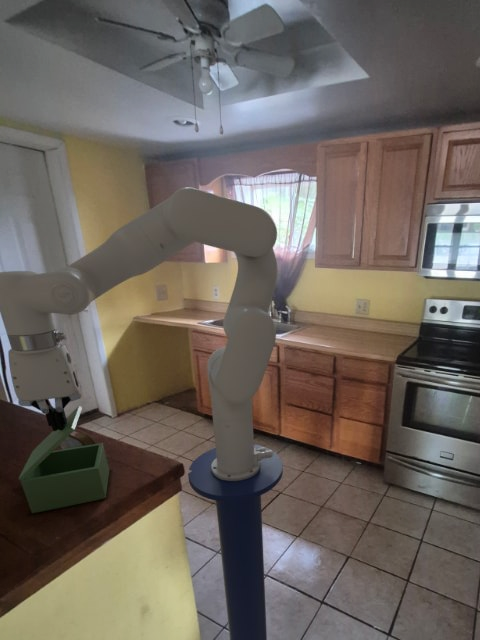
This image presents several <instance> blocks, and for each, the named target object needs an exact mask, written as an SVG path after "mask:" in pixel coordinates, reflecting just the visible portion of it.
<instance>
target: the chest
mask: <svg viewBox="0 0 480 640" xmlns="http://www.w3.org/2000/svg"><path fill="white" fill-rule="evenodd" d="M109 477H110V466H109V462H108V459H107V454H106V449H105V446H104V443H103V442H100V443H96V444H93V445H87V446H81V447H74V448H68V449H57V450H56V449H55V450H53V451H52V452H51V453H50V454H49V455H48V456H47V457H46V458H45V459H44V460H43V461H42V462H41V463H40V464H39V465H38V466H37V467H36V468H35V469H34V470H33V471H32V472H31V473H30V474H29V475H28V476H27V477H26V478H25V479H24V480H23V481H21V480H20V483H21V486H22V490H23V492H24V495H25V497H26V501H27V503H28V506H29V510H30V513H31V514H36V513H40V512H46V511H51V510H56V509H60V508H65V507H71V506H76V505H80V504H84V503H85V504H86V503H89V502H94V501H100V500H104V499H106V497H107V490H108V484H109Z"/></svg>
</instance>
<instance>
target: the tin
mask: <svg viewBox="0 0 480 640" xmlns="http://www.w3.org/2000/svg"><path fill="white" fill-rule="evenodd" d="M93 444H97V442H96V441H95V439H94V438H93V437H92V436H91V435H90V434H89V433H87V432H85V431H82V430H80V429H78V428H76V427H75V430H74V431H73V432H72V433H71V434H70V435H69V436H68V437H67V438H66V439H65V440H64V441H63V442H62V443H61V444H60V445H59V446H58V447H60V450H62V449H68V448H74V447H81V446H87V445H93Z"/></svg>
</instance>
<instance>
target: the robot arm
mask: <svg viewBox="0 0 480 640" xmlns="http://www.w3.org/2000/svg"><path fill="white" fill-rule="evenodd" d="M277 239H278V228H277V224H276V222H275V219H274V218H273V217H272V215H271V214H270V213H269V212H268V211H266V210H265V209H264V208H261V207H259V206H256V205H254V204H253V205H252V204H249V203H246V202H242V201H239V200H236V199H232V198H229V197H225V196H222V195H220V194H215V193H213V192H209V191H206V190H202V189H199V188H195V187H182V188H181V187H180V188H179V189H177V190H176V191H174V192H173V193H171V195H170V197H168V198H167V199H165V200H163V201H162V202H160V203H158V204H157V205H155V206H154V207H151V208H150V209H149V210H147V211H145V212H144V213H142V214H140V215H139V216H137V217H135V218H134V219H132V220H130V221H129V222H127V223H125V224H124V225H122V226H120V227H118V228H117V229H116V230H115V231H114V232H113V233H111V235H110V236H109V237H108V238H107V239H106V240H105V241H103V243H102V244H100V245H99V246H98V247H96V248H94V249H93V250H92V251H90V252H88V253H87V254H85V255H84V256H82V257H80V258H79V259H77V260H75V261H73V262H72V263H70V264H69V265H67V266H65V267H64V268H61V269H57V270H55V271H49V272H42V273H37V272H35V271H31V270H11V271H0V317H1V320H2V322H3V325H4V329H5V332H6V336H7V340H8V343H9V345H10V349H9V350H8V353H7V354H8V355H7V357H8V366H9V372H10V379H11V383H12V387H13V390H14V394H15V396H16V398H17V399H18V405H19V406H20V407H33V408H35V409H36V410H39V411H41V413H42V414H44V415H45V418H46V421H47V425H48V427H51V429H52V432H53V431H57V430H63V428H64V425H65V424H67V419H66V418H67V416H66V412H65V408H66V407H67V406H68V404H69V403H71V402H75V401H77V400H80V399H81V398H82V395H83V394H82V392H81V390H80V389H79V386H80V384H79V383H80V382H79V378H78V375H77V372H76V369H75V366H74V362H73V360H72V358H71V355H70V353H69V351H68V348H67V347H66V345H65V344H64V343H61V342H62V341H66V340H67V338H68V337H67V334H66V332H60V331H58V329H57V328H56V325H55V321H54V318H53V317H54V316H53V314H60V315H75V314H78V313H81V312H82V311H85V310H86V309H87V308H88V306H89V305H90V304H91V303H93V301H95V300H96V299H98V298H99V297H101V296H102V295H104V294H106V293H107V292H109V291H110V290H112V289H114V288H115V287H116V286H119V285H120V284H122V283H124V282H125V281H127V280H129V279H132V278H134V277H137V276H141V275H144V274H146V273H148V272H150V271H152V270H154V269H155V268H156V267H158V266H160V265H161V264H163V263H164V262H165V261H167V260H169V259H170V258H172V257H174V256H175V255H177V254H179V253H180V252H182V251H184V250H185V249H186V248H188V247H190V246H191V245H192V244H194V243H197V244H198V243H199V244H201V245H205V246H209V247H212V248H216V249H220V250H224V251H228V252H231V253H232V252H233V253H234V255H235V258H236V261H237V273H236V279H235V283H234V286H233V290H232V293H231V296H230V299H229V302H228V306H227V308H226V312H225V314H224V317H223V322H222V327H223V331H224V334H225V335H226V337H227V341H226V345H225V346H221V347H219V348H217V349H215V350H214V351H212V353H211V354H210V356H209V357H208V360H207V364H206V375H207V383H208V386H209V395H210V404H211V415H212V424H213V435H214V446H215V448H216V457H217V458H216V459H215V460H214V461H213V462H212V465H211V470H212V473H213V475H214V476H215V477H217V478H219V479H222V480H225V481H240V480H245V479H248V478H250V477H252V476H254V475H255V474H256V473H257V472H258V471H259V470H260V468H261V459H264V458H271V457H273V453H272V451H273V450H272V449H270V450H268V451H265V448H264V447H265V446H263V448H259V449H256V448H254V445H255V441H254V440H255V439H254V421H253V419H254V418H253V399H252V398H253V397H254V396H255V395H256V394H257V392H258V391H259V390H260V387H261V384H262V382H263V380H264V377H265V374H266V371H267V368H268V366H269V362H270V359H271V357H272V354H273V350H274V347H275V345H276V344H275V343H276V339H277V327H276V323H275V321H274V319H273V317H272V316H271V315H270V314H269V312H270V311H269V310H270V307H271V304H272V300H273V297H274V293H275V289H276V286H277V280H278V262H277V257H276V253H275V250H274V247H275V245H276V242H277ZM52 399H53V400H54V406H53V405H52V403H51V401H50V400H52Z"/></svg>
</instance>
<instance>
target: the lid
mask: <svg viewBox="0 0 480 640" xmlns="http://www.w3.org/2000/svg"><path fill="white" fill-rule="evenodd" d="M82 410H83V407H82V406H81V405H79V406H77V407H76V408H74V410H73V411H72V412H70V413H69V415H68V416H66V419H67V424H65V425H64V428H63V430H57V431H53V430H52V432H51V433H49V435H47V436H46V437H45V438H44V439H43V440H42V441H41V442H40V443H39V444H38V445H36V447H35V448H34V449H33V450H32V452H31V453H30V455H29V458H27V461H26V462H25V464H24V467H23V469H22V470H21V472H20V474H19V477H18V480H19V481H20V482H21V481H23V480H24V479H25V478H26V477H27V476H28V475H29V474H30V473H31V472H32V471H33V470H34V469H35V468H36V467H37V466H38V465H39V464H40V463H41V462H42V461H43V460H44V459H45V458H46V457H47V456H48V455H49V454H50V453H51V452H52V451H55V450H56V449H57V448H58V447H60V446H59V445H60V444H61V443H62V442H63V441H64V440H65V439H66V438H67V437H68V436H69V435H70V434H71V433H72V432H73V431H74V430H75V428H76V427H77V424H78V422H79V418H80V415H81V413H82Z"/></svg>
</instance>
